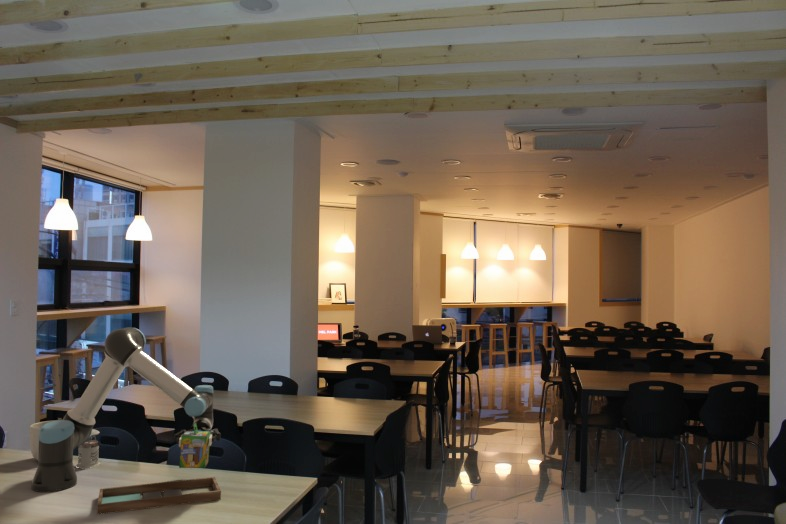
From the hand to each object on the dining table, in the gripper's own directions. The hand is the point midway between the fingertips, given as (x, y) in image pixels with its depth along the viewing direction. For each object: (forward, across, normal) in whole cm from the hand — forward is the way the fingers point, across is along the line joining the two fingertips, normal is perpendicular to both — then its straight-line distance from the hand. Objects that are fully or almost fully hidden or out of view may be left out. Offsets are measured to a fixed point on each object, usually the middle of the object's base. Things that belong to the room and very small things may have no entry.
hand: (195, 442), depth 217 cm
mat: (0, +24, -20) cm, 31 cm away
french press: (-52, +48, -20) cm, 74 cm away
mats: (-2, +12, -20) cm, 23 cm away
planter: (-65, +67, -20) cm, 95 cm away
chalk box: (-3, 0, -9) cm, 9 cm away
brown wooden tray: (-2, +12, -20) cm, 23 cm away
